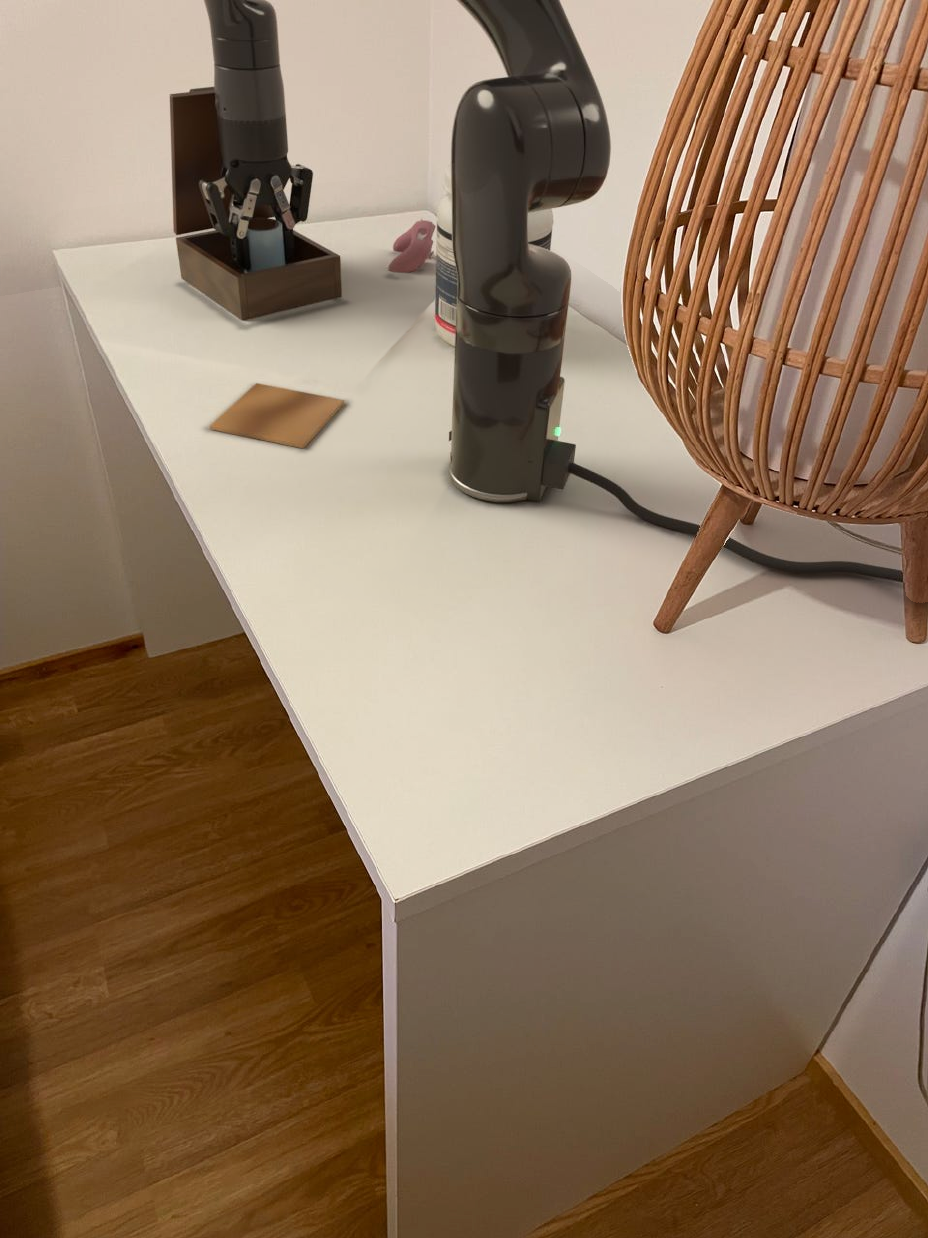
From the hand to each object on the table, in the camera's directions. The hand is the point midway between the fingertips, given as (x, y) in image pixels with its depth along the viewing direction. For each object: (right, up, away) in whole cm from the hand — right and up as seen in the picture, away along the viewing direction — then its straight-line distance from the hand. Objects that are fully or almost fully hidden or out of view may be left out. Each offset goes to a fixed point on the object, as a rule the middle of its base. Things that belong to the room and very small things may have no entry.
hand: (264, 262), depth 119 cm
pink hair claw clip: (+17, +4, +14) cm, 22 cm away
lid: (-4, +11, -2) cm, 12 cm away
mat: (+6, -23, -20) cm, 31 cm away
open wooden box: (-1, -3, +4) cm, 5 cm away
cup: (0, -3, +2) cm, 3 cm away
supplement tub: (+27, -10, -3) cm, 29 cm away
